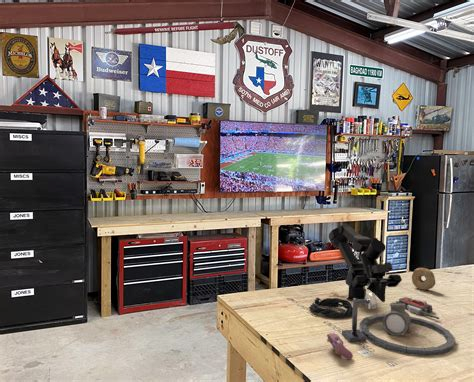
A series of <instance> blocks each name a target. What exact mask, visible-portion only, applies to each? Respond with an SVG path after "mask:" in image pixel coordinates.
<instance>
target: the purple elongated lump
mask: <svg viewBox="0 0 474 382" xmlns="http://www.w3.org/2000/svg"><path fill="white" fill-rule="evenodd" d="M326 337H327V338H326V342H327V343H330V344H331V346H332V348H333V350H334V352H335V354H336V355H338V356H340V357H343V358H344V359H347V360H352V359H353V357H354V355H353V353H352V352H351V350H349V349H348V348H347V347H346V346H345V345H344V341H343V340H342V339H341V336H339V335H338V334H336V333H335V332H334V331H332V332H329V333H327V334H326Z"/></svg>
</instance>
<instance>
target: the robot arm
mask: <svg viewBox="0 0 474 382" xmlns="http://www.w3.org/2000/svg"><path fill="white" fill-rule="evenodd" d="M328 240H329V241H330V243H331V245H333V246H334V247H336V248H338V250H339V251H340V253H341V254H340V255H341V256H342V257H343V260H344V261H345V264H346V265H347V267H348V273H347V276H346V277H345V280H344V281H345V285H347V286H348V297H347V298H346V300H348V301H353V298H357V299H365V296H366V294H367V291H370V292H371V293H373V294H374V295H375V297H376V298H378V299H379V300H380V302H382V303H385V301H386V288H387V287H388V288H396V287H398V285H399V284H400V283H401V282H402V281H403V279H402V277H401V275H400V274H398V273H397V274H393V273H392V274H389V273H390V271H393V269H394V268H393V265H392V262H391V261H388V262H385V263H378V261H377V260H378V259H379V258H380V257H381V255H382V254H383V253H384V251H385V250H386V245H385V244H384V242H382V241H381V240H380V239H378V237H372V238H370V237H368V236H363V235H361V234H360V233H359V232H358V231H356V230H355V229H354V228H352V225H349V224H340V225H339V226H337V227H336V228H334V229H331V231H330V232H329V233H328ZM348 241H350V243H351V244H352V248H353V249H354V251H355V252H356V253H361V254H360V255H359V259H357V257H356V255H355V253H354V251H353V250H352V248H351V246H350V244H349V242H348ZM360 262H361V263H360ZM386 273H387V274H389V276H388V277H385V276H386Z"/></svg>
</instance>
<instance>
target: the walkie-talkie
mask: <svg viewBox="0 0 474 382" xmlns="http://www.w3.org/2000/svg"><path fill="white" fill-rule="evenodd" d="M395 302H398V303H404V304H405V310H408V311H409V312H410V313H413V314H416V315H419V316H420V315H423V316H426V317H429V318H433V319H436V320H440V317H439V316H437V315H434V314H432V313H431V312H433V306H432V304H428V303H427V301H426V300H423V299H421V298H414V299H413V298H412V296H411V297H407V296H404V297H400V298H399V299H398V300H396V301H395ZM430 313H431V314H430Z"/></svg>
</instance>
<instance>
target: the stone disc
mask: <svg viewBox="0 0 474 382" xmlns="http://www.w3.org/2000/svg"><path fill="white" fill-rule="evenodd" d="M422 277H424V278H425V280H423V278H422ZM436 282H437V281H436V278H435V274H434V272H433V271H432V270H430V269H428V268H425V267H418V268H416V269H414V270H413V272H412V274H411V283H412V284H413V285H414V287H416V288H417V289H419V290H424V291H425V290H426V291H427V290H431V289H433V288H434V287H435V285H436Z"/></svg>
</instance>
